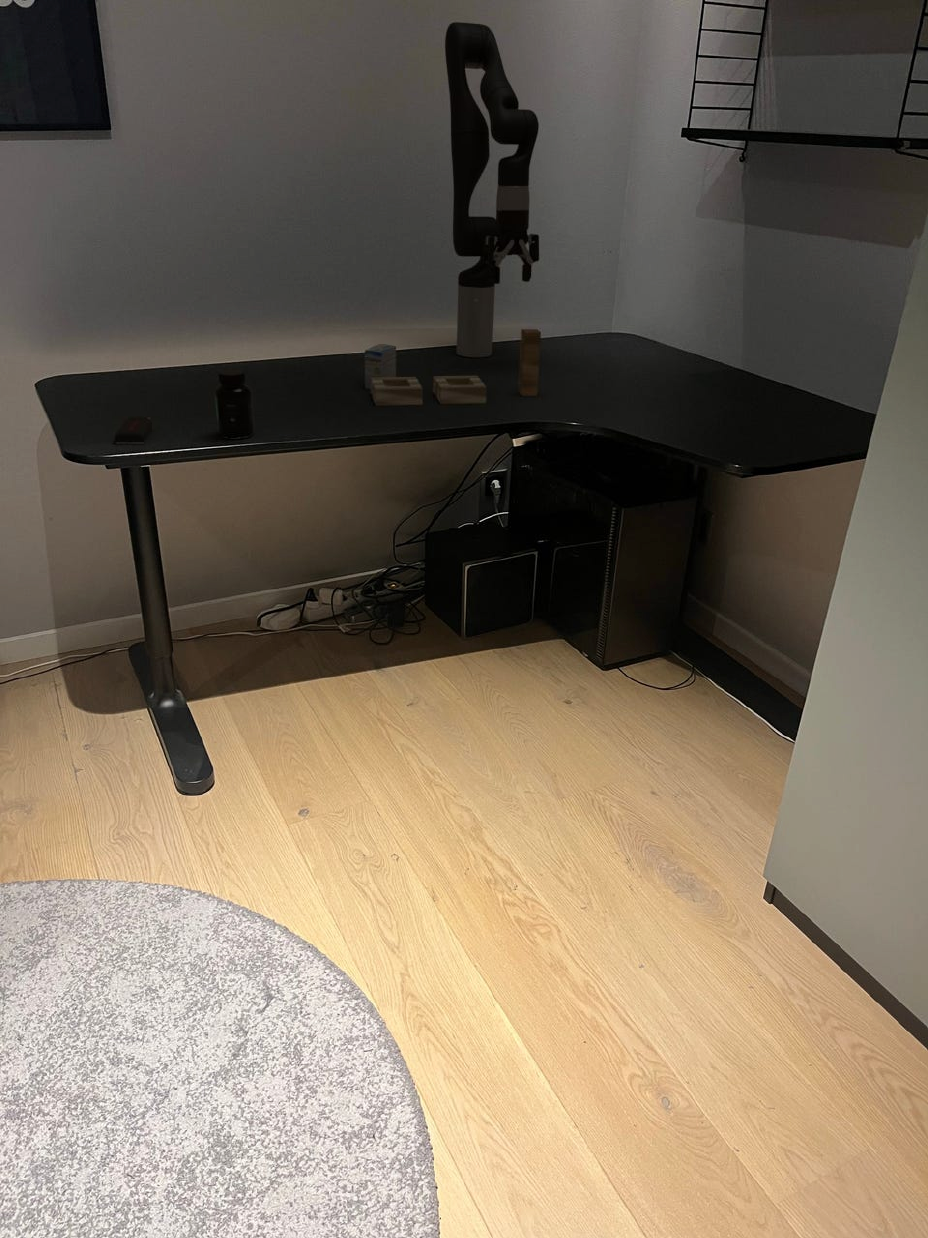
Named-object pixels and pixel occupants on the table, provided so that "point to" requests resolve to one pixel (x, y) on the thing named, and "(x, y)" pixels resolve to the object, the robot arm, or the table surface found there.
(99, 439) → the table surface
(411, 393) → the end cap
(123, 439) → the usb drive
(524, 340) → the tall brown wooden block
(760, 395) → the table surface
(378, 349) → the medicine box
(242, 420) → the supplement bottle
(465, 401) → the end cap
